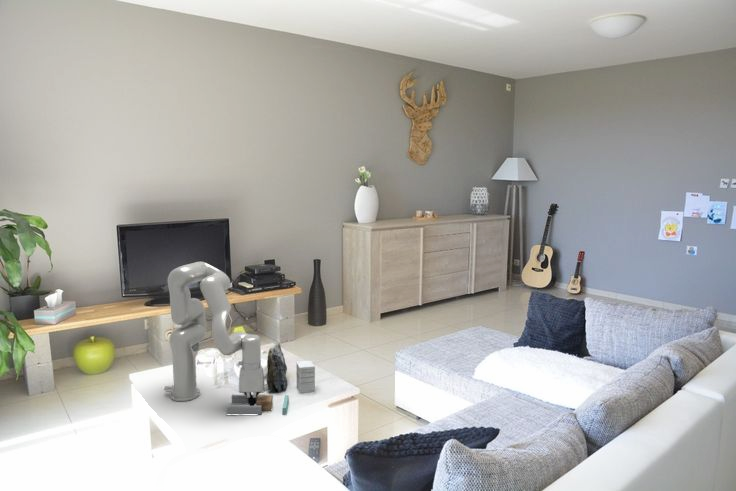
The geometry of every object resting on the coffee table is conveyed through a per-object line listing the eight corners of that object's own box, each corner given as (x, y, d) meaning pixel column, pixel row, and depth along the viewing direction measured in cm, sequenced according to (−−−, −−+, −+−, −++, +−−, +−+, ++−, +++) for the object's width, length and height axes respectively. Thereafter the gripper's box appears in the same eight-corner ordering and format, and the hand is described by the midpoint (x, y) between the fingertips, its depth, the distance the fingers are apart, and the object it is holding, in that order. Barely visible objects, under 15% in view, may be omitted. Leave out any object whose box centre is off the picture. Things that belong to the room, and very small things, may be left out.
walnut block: (256, 411, 217) (256, 401, 216) (258, 405, 223) (258, 395, 222) (271, 411, 217) (271, 401, 217) (272, 404, 223) (272, 395, 223)
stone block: (285, 393, 234) (285, 351, 231) (265, 393, 234) (265, 351, 231) (289, 377, 252) (289, 338, 249) (271, 377, 252) (271, 338, 249)
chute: (226, 415, 213) (226, 407, 213) (232, 402, 225) (232, 394, 224) (261, 415, 214) (261, 407, 214) (264, 401, 226) (264, 394, 225)
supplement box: (296, 387, 241) (296, 361, 239) (311, 385, 243) (311, 360, 241) (299, 394, 234) (299, 367, 232) (315, 392, 237) (315, 365, 235)
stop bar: (282, 414, 215) (282, 408, 214) (285, 401, 226) (285, 395, 226) (286, 414, 215) (285, 408, 214) (288, 401, 227) (288, 395, 226)
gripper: (231, 368, 212) (232, 409, 215) (268, 367, 213) (268, 409, 216) (235, 361, 220) (236, 401, 223) (270, 361, 221) (271, 401, 224)
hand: (252, 405), depth 219 cm, fingers closed
